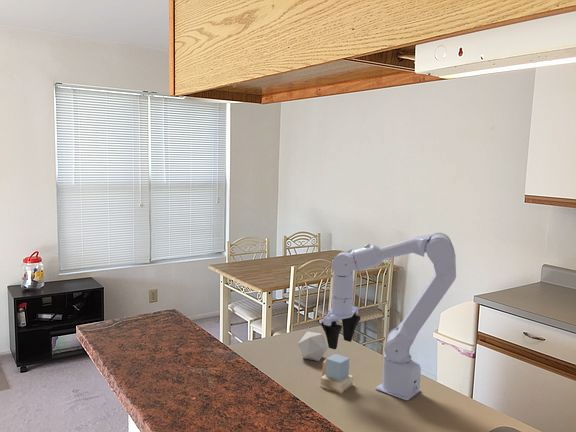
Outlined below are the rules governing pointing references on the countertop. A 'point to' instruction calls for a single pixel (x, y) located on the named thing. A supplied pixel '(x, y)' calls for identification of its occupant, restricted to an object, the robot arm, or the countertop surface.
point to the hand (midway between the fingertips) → (340, 344)
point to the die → (312, 346)
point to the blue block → (337, 367)
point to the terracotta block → (324, 367)
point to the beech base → (336, 383)
